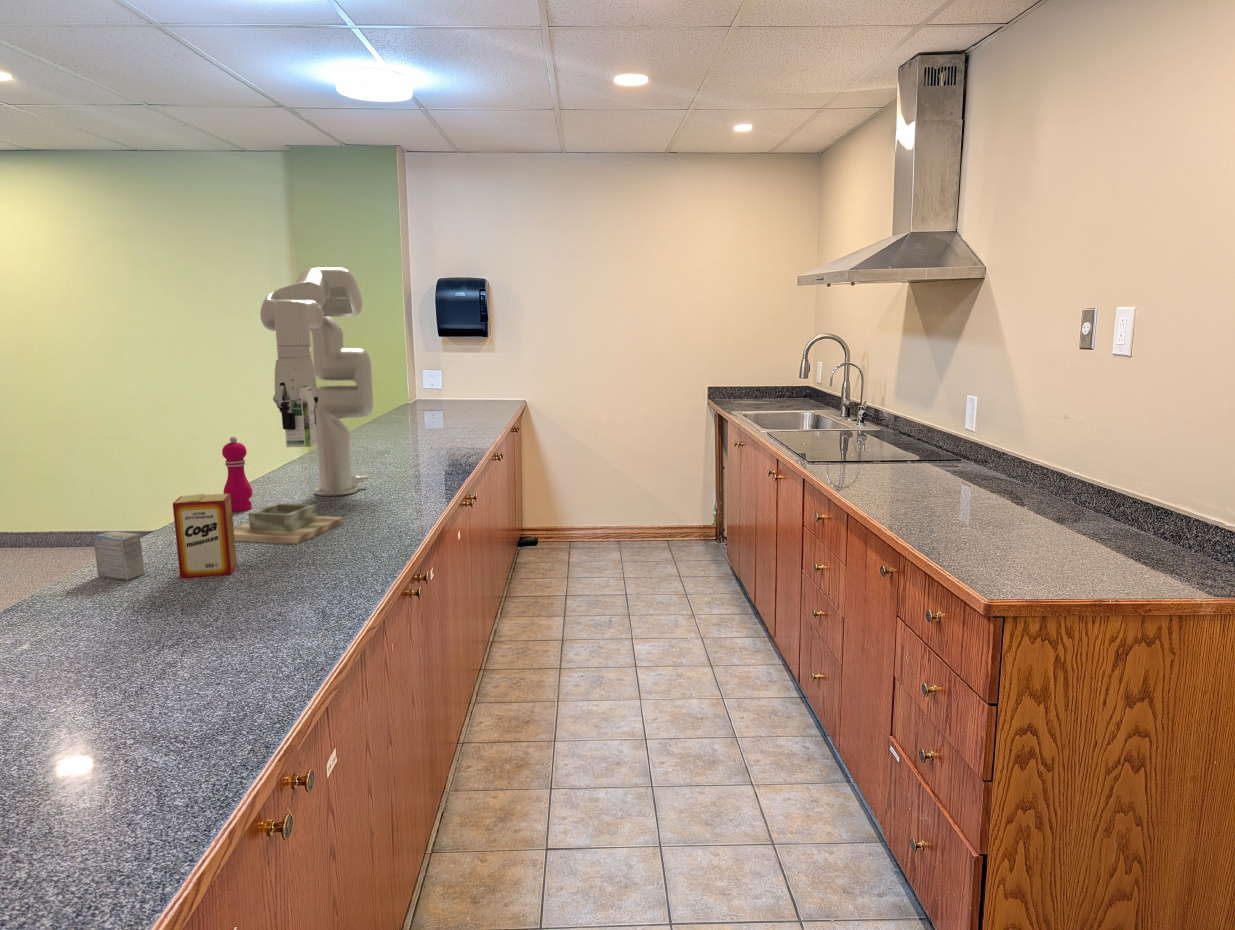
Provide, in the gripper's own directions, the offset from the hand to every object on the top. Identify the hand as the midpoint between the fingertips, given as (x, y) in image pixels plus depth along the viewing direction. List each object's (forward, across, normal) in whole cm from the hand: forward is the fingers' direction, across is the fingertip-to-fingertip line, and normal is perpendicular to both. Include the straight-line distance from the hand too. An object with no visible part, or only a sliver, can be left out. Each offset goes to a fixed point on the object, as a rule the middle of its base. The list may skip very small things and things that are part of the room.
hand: (299, 426), depth 202 cm
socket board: (+26, +3, -4) cm, 26 cm away
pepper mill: (+26, -13, -32) cm, 43 cm away
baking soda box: (+26, +35, +3) cm, 44 cm away
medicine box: (+26, +42, -13) cm, 51 cm away
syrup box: (+5, 0, 0) cm, 5 cm away
